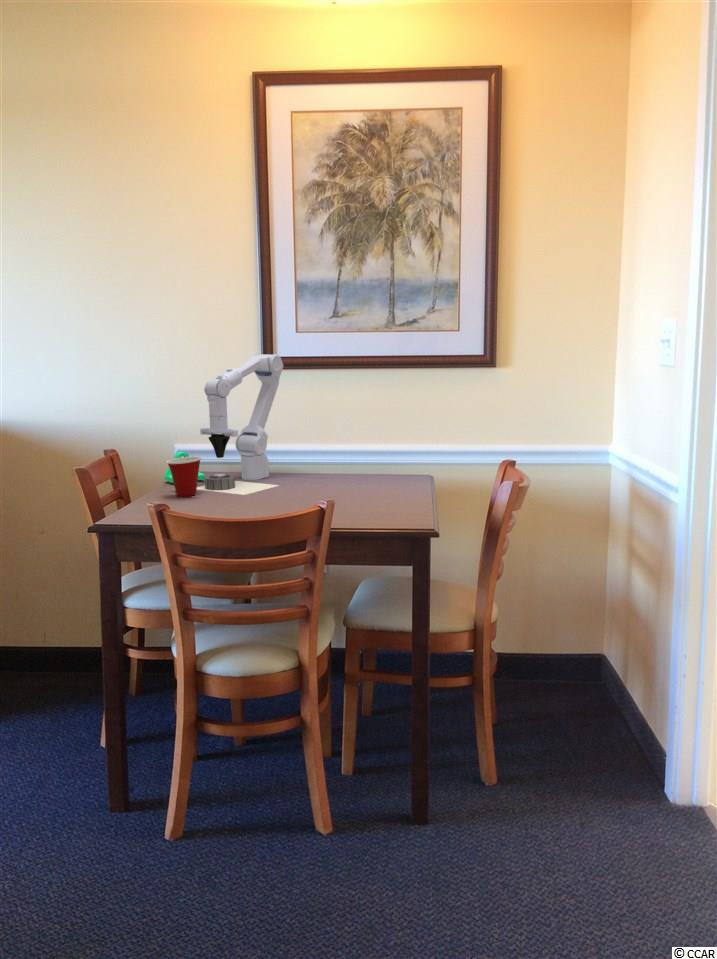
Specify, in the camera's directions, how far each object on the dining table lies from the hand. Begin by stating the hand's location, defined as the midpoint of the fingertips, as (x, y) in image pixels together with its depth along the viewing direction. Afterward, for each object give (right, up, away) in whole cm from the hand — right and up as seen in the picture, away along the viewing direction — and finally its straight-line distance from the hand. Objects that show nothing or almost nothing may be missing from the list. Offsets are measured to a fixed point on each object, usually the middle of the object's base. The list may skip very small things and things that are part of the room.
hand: (220, 457), depth 286 cm
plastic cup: (-9, -13, -12) cm, 20 cm away
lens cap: (0, -10, -3) cm, 10 cm away
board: (+6, -10, -3) cm, 12 cm away
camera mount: (-14, -9, +12) cm, 20 cm away
